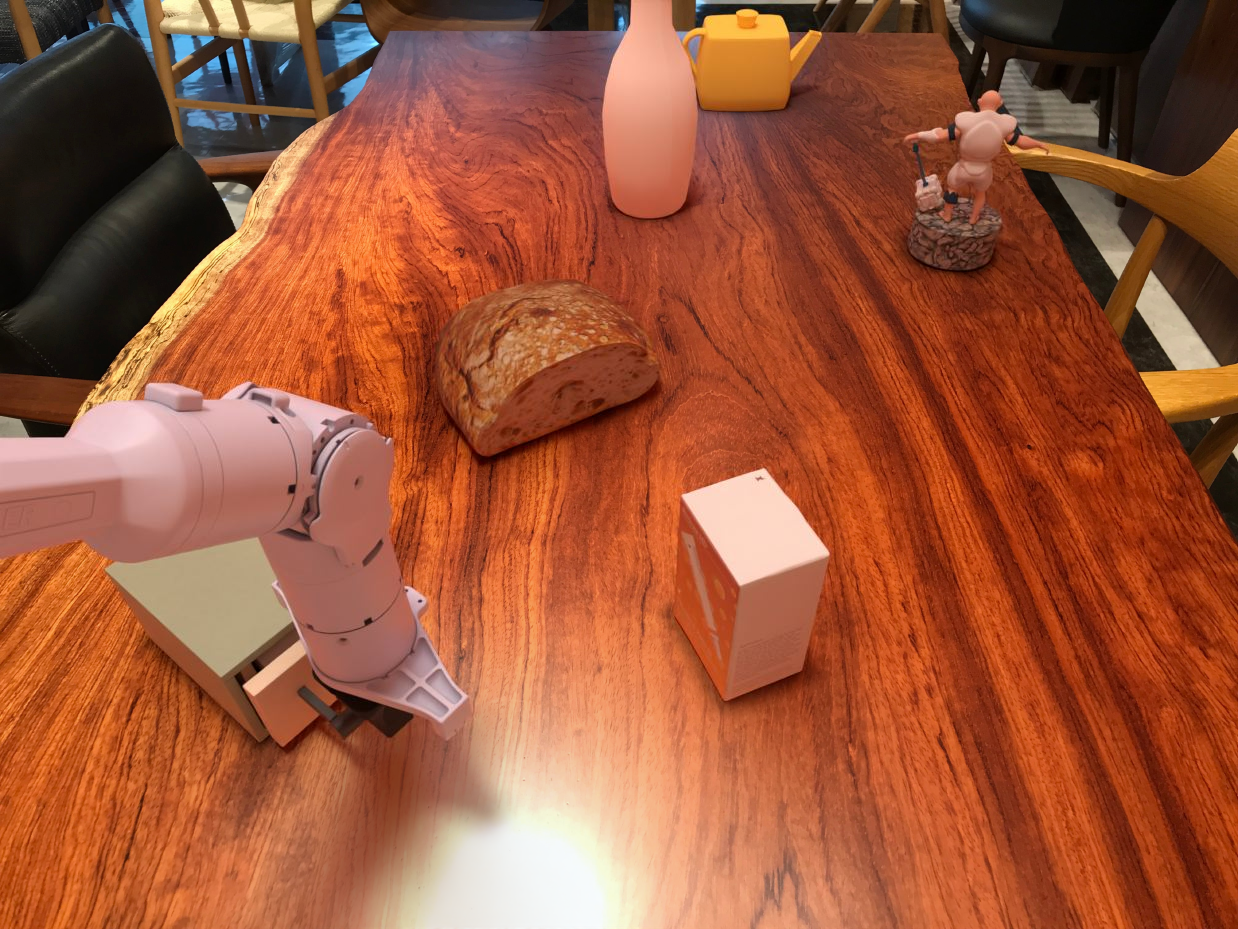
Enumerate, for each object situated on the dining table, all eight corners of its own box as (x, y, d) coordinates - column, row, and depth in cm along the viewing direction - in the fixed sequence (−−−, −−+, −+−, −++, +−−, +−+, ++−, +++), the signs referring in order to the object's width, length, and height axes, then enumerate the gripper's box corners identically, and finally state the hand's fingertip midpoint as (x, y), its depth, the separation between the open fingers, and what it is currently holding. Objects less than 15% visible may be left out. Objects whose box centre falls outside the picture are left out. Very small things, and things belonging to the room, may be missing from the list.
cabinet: (393, 629, 64) (370, 559, 59) (260, 743, 58) (220, 677, 52) (280, 543, 70) (250, 472, 65) (149, 637, 64) (103, 569, 58)
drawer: (449, 677, 60) (434, 624, 56) (329, 791, 54) (302, 742, 50) (294, 558, 68) (271, 503, 63) (175, 647, 62) (141, 593, 58)
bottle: (669, 232, 104) (677, -2, 86) (587, 211, 108) (578, -17, 90) (708, 192, 111) (722, -32, 93) (629, 173, 115) (629, -45, 97)
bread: (472, 471, 76) (455, 380, 69) (413, 355, 87) (394, 267, 80) (682, 403, 82) (687, 313, 75) (601, 303, 94) (598, 217, 87)
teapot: (807, 79, 137) (818, -4, 128) (819, 112, 128) (832, 25, 119) (678, 80, 137) (681, -2, 129) (681, 113, 128) (684, 27, 120)
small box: (671, 615, 65) (677, 492, 55) (747, 587, 66) (765, 464, 57) (723, 705, 59) (739, 586, 50) (804, 673, 61) (834, 552, 52)
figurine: (1012, 238, 102) (1065, 79, 89) (1019, 278, 96) (1077, 114, 83) (882, 226, 104) (916, 70, 92) (882, 264, 98) (918, 103, 86)
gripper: (500, 609, 45) (523, 741, 54) (320, 483, 51) (369, 621, 61) (393, 707, 41) (439, 831, 50) (214, 557, 47) (284, 692, 57)
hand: (395, 722), depth 55 cm, fingers closed
